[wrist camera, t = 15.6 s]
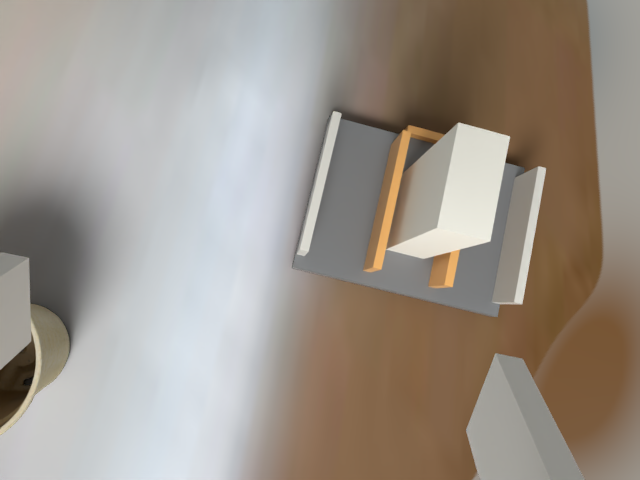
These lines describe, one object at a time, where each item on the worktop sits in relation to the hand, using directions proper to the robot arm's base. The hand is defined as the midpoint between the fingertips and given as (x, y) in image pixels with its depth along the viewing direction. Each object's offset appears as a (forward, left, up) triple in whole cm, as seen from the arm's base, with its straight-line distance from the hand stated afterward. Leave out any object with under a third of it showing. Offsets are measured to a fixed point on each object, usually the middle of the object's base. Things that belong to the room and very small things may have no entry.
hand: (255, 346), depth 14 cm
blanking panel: (-10, +9, -23) cm, 27 cm away
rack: (-10, +9, -24) cm, 28 cm away
